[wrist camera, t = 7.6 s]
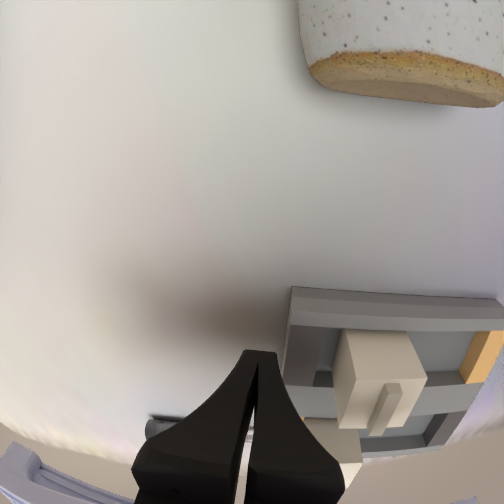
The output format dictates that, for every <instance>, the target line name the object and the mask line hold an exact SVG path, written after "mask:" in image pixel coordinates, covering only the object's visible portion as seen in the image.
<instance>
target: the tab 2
mask: <svg viewBox="0 0 504 504" xmlns="http://www.w3.org/2000/svg"><path fill="white" fill-rule="evenodd" d="M332 377H333V385H334V393H335V401H336V410H337V419H338V429H363V428H367V431H368V436H382V434H383V433H384V431H385V429H386V428H390V427H403V425H404V424H405V422H406V420H407V418H408V416H409V414H410V413H411V411H412V409H413V407H414V405H415V403H416V401H417V399H418V397H419V395H420V393H421V391H422V389H423V387H424V385H425V383H426V381H427V379H428V378H427V375H426V373H425V371H424V369H423V366H422V364H421V362H420V360H419V358H418V356H417V354H416V351H415V349H414V347H413V345H412V343H411V341H410V339H409V337H408V335H407V333H406V331H392V330H367V329H347V328H341V333H340V337H339V341H338V345H337V349H336V353H335V357H334V361H333V365H332Z"/></svg>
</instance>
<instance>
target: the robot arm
mask: <svg viewBox="0 0 504 504" xmlns="http://www.w3.org/2000/svg"><path fill="white" fill-rule="evenodd" d="M254 405H255V406H254ZM253 409H254V433H253V440H252V446H251V452H250V458H249V463H248V472H247V483H246V492H245V499H244V504H337V502H338V501H339V499H340V498H341V496H342V495H343V493H344V491H345V480H344V476H343V473H342V470H341V467H340V464H339V462H338V461H337V460H336V459H335V458H334V457H333V456H332V455H331V454H330V453H329V452H328V451H327V450H326V449H325V448H324V447H323V446H322V445H321V444H320V443H319V442H318V441H317V439H316V438H315V437H314V435H313V434H312V433H311V432H310V430H309V429H308V428H307V426H306V425H305V423H304V422H303V420H302V419H301V417H300V416H299V414H298V412H297V411H296V409H295V407H294V405H293V403H292V401H291V399H290V397H289V395H288V392H287V390H286V387H285V385H284V382H283V379H282V376H281V373H280V370H279V366H278V360H277V354H276V353H275V352H267V351H257V350H247V349H246V350H244V351H243V353H242V355H241V357H240V359H239V361H238V362H237V364H236V365H235V367H234V368H233V370H232V371H231V373H230V374H229V375H228V377H227V378H226V379H225V381H224V382H223V383H222V384H221V385H220V386H219V388H218V389H217V390H216V391H215V392H214V393H213V394H212V395H211V396H210V397H209V398H208V399H207V400H206V401H205V402H204V403H203V404H202V405H201V406H199V407H198V408H197V409H196V410H195V411H193V412H192V413H191V414H189V415H188V416H187V417H185V418H184V419H182V420H181V421H179V422H178V423H176V424H175V425H173V426H171V427H170V428H168V429H166V430H164V431H162V432H160V433H158V434H156V435H154V436H152V437H150V438H148V439H147V440H146V442H145V443H144V444H143V446H142V447H141V449H140V451H139V452H138V454H137V456H136V459H135V461H134V463H133V466H132V468H131V470H132V474H133V476H134V478H135V480H136V482H137V484H138V486H139V488H140V489H139V491H138V494H137V497H136V499H135V500H132V499H129V498H126V497H123V496H120V495H117V494H114V493H111V492H109V491H106V490H103V489H100V488H98V487H95V486H93V485H90V484H88V483H85V482H83V481H81V480H78V479H76V478H74V477H71V476H69V475H67V474H65V473H62V472H60V471H58V470H56V469H54V468H52V467H50V466H48V465H46V464H44V463H42V461H41V459H40V458H39V456H38V455H37V454H36V453H35V452H33V451H32V450H30V449H29V448H27V447H25V446H23V445H21V444H19V443H18V442H16V441H13V442H12V443H11V445H10V446H9V447H8V449H7V450H6V452H5V453H4V455H3V456H2V458H1V459H0V491H1V492H2V493H3V494H4V495H5V496H6V497H7V498H8V499H9V500H10V501H11V502H12V503H14V504H234V502H235V495H236V489H237V483H238V477H239V470H240V464H241V458H242V452H243V447H244V443H245V439H246V436H247V432H248V428H249V424H250V420H251V417H252V413H253ZM451 504H478V500H477V497H475V496H474V497H471V498H467V499H463V500H460V501H456V502H453V503H451Z"/></svg>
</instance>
